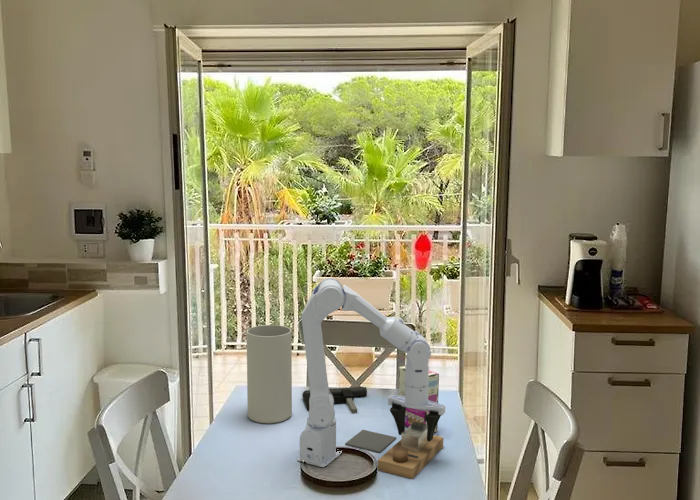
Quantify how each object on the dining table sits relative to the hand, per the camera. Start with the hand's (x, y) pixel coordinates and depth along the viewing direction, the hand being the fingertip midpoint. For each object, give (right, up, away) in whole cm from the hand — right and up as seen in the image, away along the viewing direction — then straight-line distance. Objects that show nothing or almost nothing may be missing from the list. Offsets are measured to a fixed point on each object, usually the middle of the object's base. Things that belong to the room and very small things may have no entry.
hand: (415, 436), depth 169 cm
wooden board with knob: (-1, -5, -1) cm, 5 cm away
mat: (-11, -4, +8) cm, 14 cm away
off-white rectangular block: (0, -2, 0) cm, 2 cm away
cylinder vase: (-39, -1, +25) cm, 46 cm away
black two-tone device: (-20, 0, +34) cm, 40 cm away
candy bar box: (+2, -3, +18) cm, 18 cm away
